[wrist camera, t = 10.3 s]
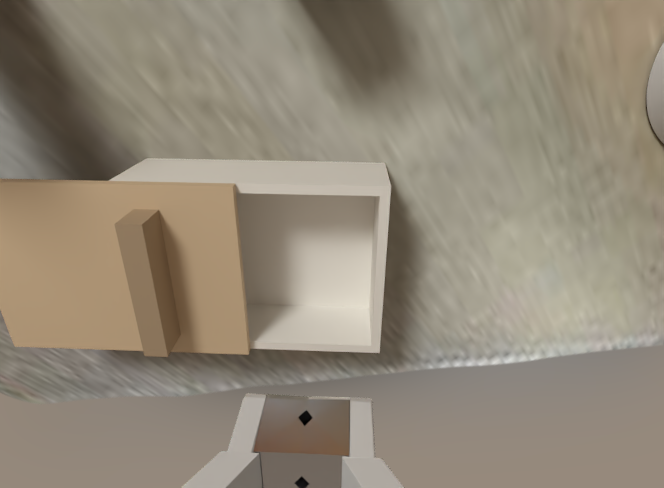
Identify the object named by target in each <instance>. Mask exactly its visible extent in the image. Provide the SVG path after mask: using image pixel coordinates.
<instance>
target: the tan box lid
mask: <svg viewBox="0 0 664 488" xmlns="http://www.w3.org/2000/svg"><path fill="white" fill-rule="evenodd" d="M0 310H1V312H2V315H3V318H4V320H5V323H6V325H7V328H8V330H9V333H10V336H11V338H12V341H13V343H14V346H15V347H44V348H73V349H101V350H130V351H143V352H144V356H155V357H168V356H169V354H170V353H171V352H187V353H216V354H245V355H249V352H250V349H251V348H250V337H249V327H248V316H247V305H246V294H245V283H244V273H243V262H242V251H241V240H240V229H239V219H238V208H237V197H236V186H235V183H187V182H138V181H90V180H41V179H0Z"/></svg>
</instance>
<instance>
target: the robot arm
mask: <svg viewBox="0 0 664 488" xmlns="http://www.w3.org/2000/svg"><path fill="white" fill-rule="evenodd" d="M647 111H648V116H649V120H650V123H651V126H652V128H653V130H654V132H655V133H656V135H657V136H658V138H659V139H660V140H661V142H662V143H663V144H664V43H663V44H662V46H661V48H660V50H659V52H658V54H657V56H656V59H655V61H654V64H653V66H652V69H651V73H650V76H649V81H648V87H647ZM181 488H404V487H403V485H402V484H401V483H400V481H399V480H398V479H397V477H396V476H395V475H394V474H393V472H392V471H391V470H390V468H389V467H388V466H387V464H386V463H385V462H384V461H383V459H382V458H375V443H374V424H373V408H372V400H371V398H350V399H349V398H347V397H312V396H309V397H304V396H289V395H273V394H268V395H266V394H251V393H247V394H246V395H245V397H244V398H243V402H242V405H241V408H240V411H239V415H238V418H237V422H236V425H235V428H234V431H233V435H232V438H231V441H230V444H229V447H228V451H221V452H220V453H218V454H217V455H216V456H215V457H214V458H213V459H212V460H211V461H210V462H209V463H208V464H206V465H205V466H204V467H203V468H202V469H201V470H200V471H199V472H198V473H196V474H195V475H194V476H193V477H192V478H191V479H190V480H189V481H188V482H187V483H185V484H184V485H183V486H182V487H181Z"/></svg>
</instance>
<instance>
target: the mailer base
mask: <svg viewBox="0 0 664 488" xmlns="http://www.w3.org/2000/svg"><path fill="white" fill-rule="evenodd" d="M109 181H138V182H187V183H235V186H236V197H237V208H238V219H239V229H240V240H241V251H242V262H243V273H244V283H245V294H246V305H247V316H248V327H249V337H250V348H251V349H277V350H306V351H335V352H364V353H380V339H381V325H382V311H383V296H384V282H385V268H386V253H387V239H388V225H389V210H390V196H391V184H390V180H389V176H388V173H387V169H386V165H385V163H374V162H320V161H267V160H213V159H159V158H146V159H145V160H143V161H141V162H140V163H138V164H136V165H134V166H133V167H131V168H129V169H128V170H126V171H124V172H122V173H121V174H119V175H117V176H115V177H114V178H112V179H110V180H109Z"/></svg>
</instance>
